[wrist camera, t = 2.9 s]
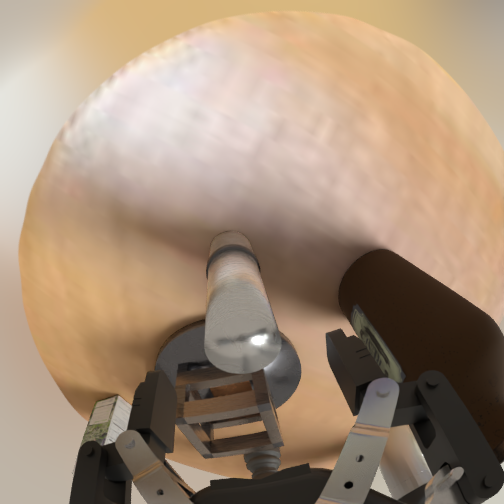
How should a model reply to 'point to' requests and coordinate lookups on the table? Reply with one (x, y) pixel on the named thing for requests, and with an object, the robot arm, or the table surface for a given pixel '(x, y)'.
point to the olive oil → (428, 334)
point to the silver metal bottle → (238, 308)
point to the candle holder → (263, 462)
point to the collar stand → (226, 394)
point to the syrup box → (107, 421)
